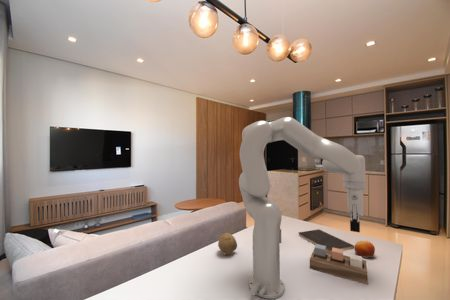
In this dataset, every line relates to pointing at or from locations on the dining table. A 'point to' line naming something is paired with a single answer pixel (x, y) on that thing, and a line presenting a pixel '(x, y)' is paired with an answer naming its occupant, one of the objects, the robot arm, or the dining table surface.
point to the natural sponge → (227, 243)
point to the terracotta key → (337, 254)
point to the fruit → (364, 249)
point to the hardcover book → (325, 240)
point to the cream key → (356, 261)
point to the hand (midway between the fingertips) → (355, 231)
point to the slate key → (320, 250)
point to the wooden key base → (339, 267)
